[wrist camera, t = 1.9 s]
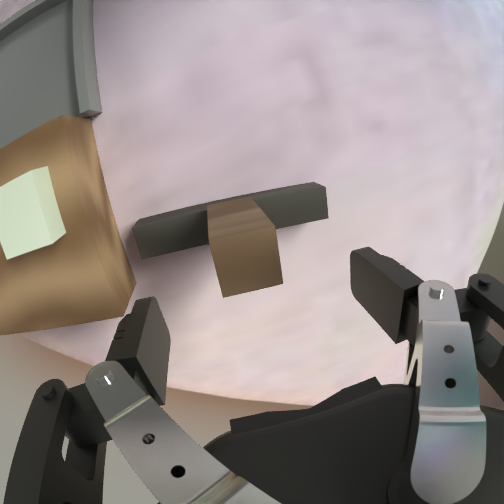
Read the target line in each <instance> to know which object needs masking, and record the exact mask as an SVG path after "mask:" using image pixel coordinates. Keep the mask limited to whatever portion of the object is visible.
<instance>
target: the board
mask: <svg viewBox="0 0 504 504" xmlns="http://www.w3.org/2000/svg"><path fill="white" fill-rule="evenodd" d="M46 166H48V170H49V174H50V178H51V182H52V186H53V190H54V194H55V197H56V201H57V205H58V208H59V211H60V215H61V218H62V221H63V224H64V227H65V230H66V233H65V234H64V235H63V236H62V237H60V238H59V239H58V240H57V241H55V242H54V243H53V244H50V245H47V246H44V247H41V248H38V249H36V250H33V251H30V252H27V253H24V254H21V255H18V256H16V257H13V258H10V259H8V260H7V259H6V256H5V253H4V251H3V248H2V245H1V243H0V335H6V334H14V333H22V332H29V331H36V330H43V329H50V328H57V327H63V326H70V325H76V324H82V323H88V322H94V321H100V320H106V319H111V318H117V317H123V316H124V313H125V310H126V308H127V305H128V303H129V300H130V297H131V295H132V292H133V290H134V287H135V285H136V281H135V278H134V275H133V273H132V270H131V267H130V264H129V261H128V259H127V256H126V253H125V250H124V247H123V244H122V241H121V238H120V235H119V232H118V228H117V225H116V222H115V219H114V215H113V212H112V208H111V205H110V201H109V197H108V194H107V190H106V186H105V182H104V178H103V174H102V170H101V166H100V161H99V157H98V152H97V147H96V142H95V137H94V132H93V127H92V121H91V119H88V118H81V117H73V116H65V115H61V116H59V117H57V118H55V119H53V120H51V121H49V122H47V123H45V124H43V125H41V126H39V127H37V128H35V129H33V130H31V131H30V132H28V133H26V134H24V135H23V136H21V137H19V138H17V139H16V140H14V141H12V142H11V143H9V144H8V145H6V146H4V147H3V148H1V149H0V187H1V186H3V185H4V184H6V183H8V182H10V181H12V180H13V179H15V178H17V177H19V176H21V175H23V174H25V173H27V172H29V171H31V170H34V169H38V168H42V167H46Z"/></svg>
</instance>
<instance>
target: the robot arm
mask: <svg viewBox="0 0 504 504" xmlns="http://www.w3.org/2000/svg"><path fill="white" fill-rule="evenodd" d="M350 272H351V290H352V293H353V295H354V297H355V299H356V300H357V301H358V302H359V303H360V304H361V305H362V306H363V307H364V308H365V310H366V311H367V312H368V313H369V314H370V315H371V316H372V317H373V318H374V320H375V321H376V322H377V323H378V324H379V325H380V326H381V328H382V329H383V330H384V331H385V332H386V333H387V334H388V335H389V337H390V338H391V339H392V340H393V341H394V342H395V344H397V343H400V342H402V341H404V340H406V339H407V340H408V341H409V344H408V349H407V359H406V369H405V377H404V384H387V385H381V384H380V383H379V381H378V380H377V378H376V377H373V378H370V379H368V380H365V381H363V382H360V383H358V384H355V385H352V386H350V387H347V388H344V389H342V390H341V391H339V392H337V393H336V394H334V395H332V396H331V397H329V398H327V399H326V400H324V401H322V402H321V403H319V404H317V405H315V406H314V407H312V408H309V409H303V410H290V411H272V412H264V413H260V414H255V415H251V416H246V417H241V418H237V419H231V420H230V425H231V431H228V432H226V433H224V434H222V435H220V436H218V437H216V438H215V439H214V440H212V441H210V442H209V443H208V444H207V445H206V446H204V447H203V448H202V447H201V446H200V445H199V444H198V443H197V442H196V441H195V440H194V439H193V438H191V437H190V436H189V435H188V434H187V433H186V432H185V431H184V430H183V429H182V428H181V427H180V426H179V425H177V423H176V422H175V421H174V420H173V419H172V418H171V417H170V416H169V415H168V414H167V413H166V412H165V411H164V410H163V409H162V408H161V407H160V406H159V405H165V396H166V383H167V372H168V362H169V352H170V334H169V330H168V328H167V325H166V323H165V320H164V318H163V315H162V313H161V310H160V308H159V305H158V302H157V300H156V298H155V297H149V298H144V299H139V300H136V301H135V303H134V306H133V309H132V312H131V314H127V315H126V316H125V317H124V318H123V319H122V320H121V321H120V322H119V325H118V327H117V330H116V333H115V335H114V340H113V341H112V343H111V346H110V349H109V352H108V355H107V357H106V360H105V362H102V363H99V364H97V365H96V366H94V367H93V368H92V369H91V370H90V371H89V372H88V374H87V376H86V379H85V383H84V384H81V385H79V386H75V387H72V388H69V389H68V388H67V387H66V385H65V384H64V383H63V381H61V380H59V379H52V380H49V381H47V382H45V383H43V384H42V385H41V386H40V387H39V388H38V389H37V391H36V393H35V395H34V398H33V400H32V403H31V405H30V408H29V411H28V413H27V416H26V419H25V422H24V425H23V428H22V431H21V434H20V437H19V440H18V443H17V447H16V450H15V454H14V457H13V461H12V465H11V469H10V473H9V477H8V482H7V487H6V492H5V498H4V504H102V499H103V497H102V496H103V479H104V465H105V455H106V445H107V441H109V440H113V441H114V442H115V444H116V445H117V447H118V448H119V450H120V451H121V453H122V454H123V456H124V457H125V459H126V460H127V462H128V463H129V464H130V466H131V467H132V469H133V470H134V471H135V473H136V474H137V475H138V476H139V478H140V479H141V480H142V481H143V483H144V484H145V485H146V487H147V488H148V489H149V490H150V492H151V493H152V494H153V495H154V496H155V498H156V499H157V500H158V501H159V503H158V504H504V411H503V410H499V409H494V408H490V407H486V406H482V405H480V404H479V388H478V377H477V370H478V371H479V372H480V373H481V375H482V376H483V377H484V378H485V379H486V380H487V382H488V383H489V384H490V385H491V386H492V388H493V389H494V390H495V391H496V393H497V394H498V395H499V396H500V398H501V399H502V400H503V401H504V346H502V345H501V344H500V343H499V342H498V341H497V340H496V339H495V338H494V337H493V336H492V335H491V334H490V333H489V332H488V331H487V328H488V325H489V323H490V319H491V318H492V319H494V321H495V322H497V323H498V324H499V325H500V326H501V327H502V328H503V329H504V284H502V283H501V282H499V281H498V280H497V279H495V278H494V277H492V276H490V275H487V274H474V275H472V276H470V278H469V281H468V286H467V288H464V289H458V290H454V289H453V287H452V286H451V285H449V284H448V283H446V282H443V281H439V280H429V281H425V282H424V281H423V280H422V279H420V278H419V277H418V276H416V275H415V274H414V273H412V272H411V271H409V270H408V269H406V268H405V267H404V266H402V265H400V263H398V262H397V261H395V260H394V259H392V258H390V257H387V256H384V255H380V254H379V253H377V252H376V251H374V250H373V249H372V248H370V247H365V248H361V249H357V250H353V251H352V252H351V254H350ZM64 436H66V437H67V438H68V439H69V444H68V449H67V454H66V460H65V461H64V459H63V457H62V445H63V441H64Z"/></svg>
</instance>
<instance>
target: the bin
mask: <svg viewBox="0 0 504 504" xmlns="http://www.w3.org/2000/svg"><path fill="white" fill-rule="evenodd" d="M99 113H102V108H101V102H100V95H99V88H98V80H97V72H96V62H95V51H94V36H93V8H92V0H36V1H34V2H32V3H31V4H29V5H28V6H26V7H24V8H23V9H21V10H20V11H18V12H17V13H15V14H14V15H12V16H11V17H10V18H8V19H7V20H5V21H4V22H3V23H1V24H0V149H1V148H3V147H4V146H6V145H8V144H9V143H11V142H12V141H14V140H16V139H17V138H19V137H21V136H23V135H24V134H26V133H28V132H30V131H31V130H33V129H35V128H37V127H39V126H41V125H43V124H45V123H47V122H49V121H51V120H53V119H55V118H57V117H59V116H61V115H65V116H73V117H81V118H89V117H91V116H94V115H96V114H99Z"/></svg>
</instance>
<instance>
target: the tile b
mask: <svg viewBox="0 0 504 504" xmlns="http://www.w3.org/2000/svg"><path fill="white" fill-rule="evenodd" d="M65 233H66V230H65V227H64V224H63V221H62V218H61V215H60V211H59V208H58V205H57V201H56V197H55V194H54V190H53V186H52V182H51V178H50V174H49V170H48V166H46V167H42V168H38V169H34V170H31V171H29V172H27V173H25V174H23V175H21V176H19V177H17V178H15V179H13V180H12V181H10V182H8V183H6V184H4V185H3V186H1V187H0V243H1V245H2V248H3V251H4V253H5V256H6V259H7V260H8V259H10V258H13V257H16V256H18V255H21V254H24V253H27V252H30V251H33V250H36V249H38V248H41V247H44V246H47V245H50V244H53V243H54V242H55V241H57V240H58V239H59V238H60V237H62V236H63V235H64V234H65Z"/></svg>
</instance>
